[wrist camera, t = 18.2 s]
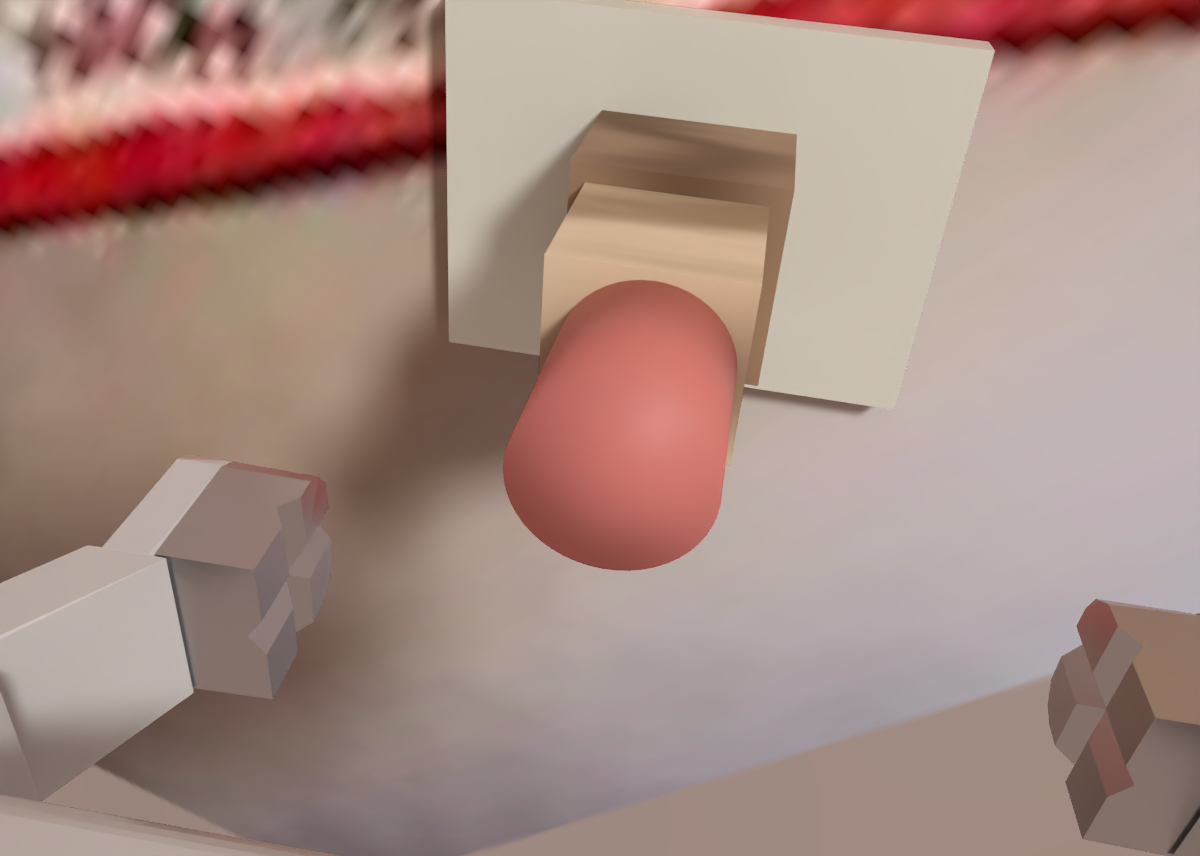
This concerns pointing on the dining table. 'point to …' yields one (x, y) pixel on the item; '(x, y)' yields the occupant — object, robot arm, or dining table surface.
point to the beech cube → (660, 259)
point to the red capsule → (626, 429)
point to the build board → (725, 97)
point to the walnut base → (698, 178)
